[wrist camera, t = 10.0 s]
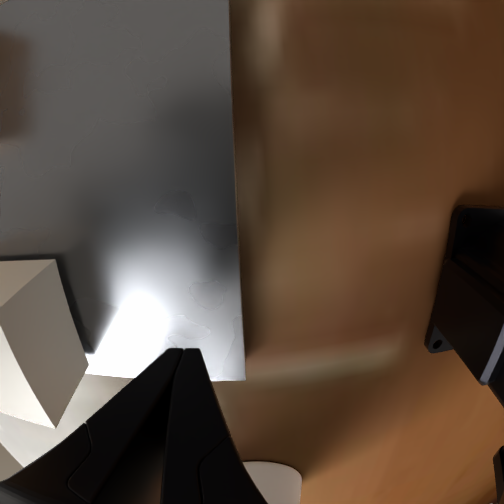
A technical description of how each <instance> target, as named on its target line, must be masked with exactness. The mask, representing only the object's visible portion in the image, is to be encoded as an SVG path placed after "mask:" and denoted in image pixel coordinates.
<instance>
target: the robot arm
mask: <svg viewBox="0 0 504 504" xmlns="http://www.w3.org/2000/svg"><path fill="white" fill-rule="evenodd" d="M465 215H466V219H465V221H464V223H463V224H462V219H463V217H464V216H465ZM434 342H435V343H434ZM424 345H425V347H426V348H427V350H428V351H429V352H430V353H438V352H443V351H447V350H452V349H454V350H455V351H456V353H457V354H458V355H459V357H460V358H461V359H462V361H463V362H464V363H465V365H466V366H467V367H468V369H469V370H470V371H471V373H472V374H473V375H474V377H475V378H476V380H477V381H478V382H479V384H481V385H488V386H489V388H490V389H491V390H492V392H493V393H494V395H495V396H496V397H497V399H498V400H499V402H500V403H501V405H502V406H503V407H504V207H496V206H477V205H460V206H458V207H457V208H455V210H454V211H453V213H452V217H451V223H450V230H449V237H448V243H447V249H446V254H445V260H444V265H443V268H442V273H441V278H440V283H439V287H438V291H437V296H436V300H435V304H434V308H433V312H432V315H431V320H430V324H429V327H428V331H427V334H426V338H425V342H424ZM493 464H494V471H495V480H496V490H497V502H498V504H504V446H502V447H501V448H500V449H499V450H498V451H497V453H496V454H495V455H494V457H493ZM0 504H268V503H267V501H266V500H265V498H264V497H263V495H262V494H261V492H260V491H259V489H258V488H257V486H256V485H255V483H254V482H253V480H252V478H251V477H250V475H249V473H248V472H247V470H246V468H245V466H244V464H243V462H242V460H241V458H240V456H239V453H238V451H237V449H236V446H235V444H234V441H233V439H232V437H231V434H230V431H229V429H228V426H227V424H226V421H225V418H224V416H223V413H222V410H221V407H220V405H219V402H218V399H217V396H216V394H215V391H214V388H213V385H212V382H211V379H210V376H209V373H208V371H207V368H206V365H205V362H204V359H203V356H202V353H201V350H200V349H199V348H185V349H183V348H168V349H167V350H165V351H164V352H163V353H162V354H161V355H160V356H159V357H158V358H157V359H155V360H154V361H153V362H152V363H151V364H150V365H149V366H148V367H146V368H145V369H144V370H143V371H142V372H141V373H140V374H139V375H138V376H136V377H135V378H134V379H133V380H132V381H131V382H130V383H129V384H127V385H126V386H125V387H124V388H123V389H122V390H121V391H120V392H118V393H117V394H116V395H115V396H114V397H113V398H112V399H111V400H109V401H108V402H107V403H106V404H105V405H104V406H103V407H101V408H100V409H99V410H98V411H97V412H96V413H95V414H93V415H92V416H91V417H90V418H89V419H88V420H87V421H86V424H85V423H83V424H82V425H81V426H80V427H78V428H77V429H76V430H75V431H74V432H73V433H71V434H70V435H69V436H68V437H67V438H65V439H64V440H63V441H62V442H60V443H59V444H58V445H56V446H55V447H54V448H52V449H51V450H49V451H48V452H47V453H45V454H44V455H42V456H41V457H39V458H38V459H36V460H35V461H34V462H32V463H31V464H29V465H28V466H26V467H25V468H23V469H21V470H20V471H18V472H17V473H16V474H14V475H12V476H11V477H9V478H7V479H5V480H3V481H0Z"/></svg>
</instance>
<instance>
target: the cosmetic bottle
mask: <svg viewBox="0 0 504 504" xmlns="http://www.w3.org/2000/svg"><path fill="white" fill-rule="evenodd" d="M243 464H244V466H245V468H246V470H247V472H248V473H249V475H250V477H251V478H252V480H253V482H254V483H255V485H256V486H257V488H258V489H259V491H260V492H261V494H262V495H263V497H264V498H265V500H266V501H267V503H268V504H300V495H301V485H302V478H301V475H300V474H299V473H298V472H297V471H296V470H295V469H293V468H291V467H289V466H286V465H283V464H278V463H272V462H261V461H251V462H243Z"/></svg>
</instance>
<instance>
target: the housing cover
mask: <svg viewBox="0 0 504 504" xmlns="http://www.w3.org/2000/svg"><path fill="white" fill-rule="evenodd" d="M88 366H89V362H88V360H87V357H86V355H85V352H84V350H83V347H82V344H81V342H80V339H79V336H78V333H77V330H76V328H75V325H74V322H73V319H72V316H71V313H70V310H69V306H68V303H67V300H66V297H65V293H64V290H63V286H62V283H61V279H60V275H59V272H58V268H57V264H56V260H55V259H50V260H23V261H0V412H2V413H4V414H7V415H10V416H13V417H16V418H20V419H23V420H26V421H29V422H33V423H36V424H40V425H43V426H47V427H51V428H55V429H56V427H57V425H58V423H59V421H60V419H61V417H62V415H63V413H64V411H65V409H66V407H67V405H68V404H69V402H70V400H71V398H72V396H73V394H74V392H75V390H76V388H77V386H78V385H79V383H80V381H81V379H82V377H83V375H84V373H85V372H86V370H87V368H88Z"/></svg>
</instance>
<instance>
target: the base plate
mask: <svg viewBox="0 0 504 504" xmlns="http://www.w3.org/2000/svg"><path fill="white" fill-rule="evenodd" d="M50 259H55V260H56V264H57V268H58V272H59V275H60V279H61V283H62V286H63V290H64V293H65V297H66V300H67V303H68V306H69V310H70V313H71V316H72V319H73V322H74V325H75V328H76V330H77V333H78V336H79V339H80V342H81V344H82V347H83V350H84V352H85V355H86V357H87V360H88V362H89V366H88V368H87V370H86V372H85V373H88V374H96V375H105V376H116V377H127V378H135V377H136V376H138V375H139V374H140V373H141V372H142V371H143V370H144V369H145V368H146V367H148V366H149V365H150V364H151V363H152V362H153V361H154V360H155V359H157V358H158V357H159V356H160V355H161V354H162V353H163V352H164V351H165V350H167V349H168V348H183V349H185V348H199V349H200V350H201V353H202V356H203V359H204V362H205V365H206V368H207V371H208V373H209V376H210V379H211V381H245V380H246V356H245V339H244V322H243V304H242V285H241V266H240V246H239V226H238V205H237V183H236V160H235V135H234V109H233V82H232V51H231V17H230V0H9V1H7V2H5V3H3V4H1V5H0V261H23V260H50Z"/></svg>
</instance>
